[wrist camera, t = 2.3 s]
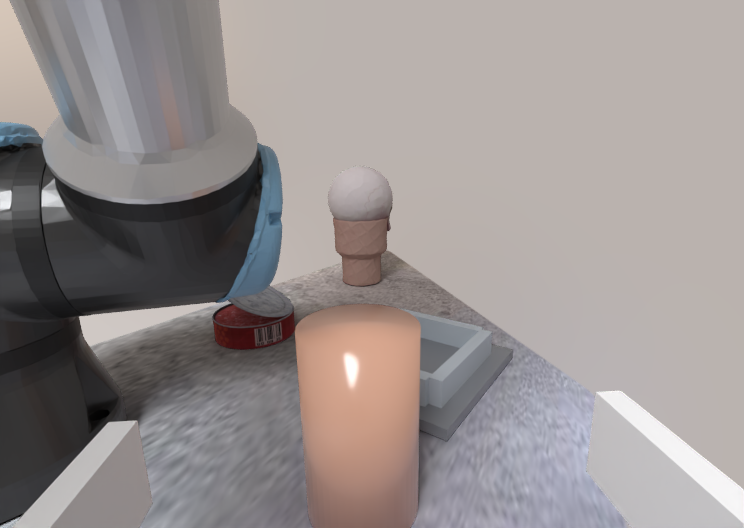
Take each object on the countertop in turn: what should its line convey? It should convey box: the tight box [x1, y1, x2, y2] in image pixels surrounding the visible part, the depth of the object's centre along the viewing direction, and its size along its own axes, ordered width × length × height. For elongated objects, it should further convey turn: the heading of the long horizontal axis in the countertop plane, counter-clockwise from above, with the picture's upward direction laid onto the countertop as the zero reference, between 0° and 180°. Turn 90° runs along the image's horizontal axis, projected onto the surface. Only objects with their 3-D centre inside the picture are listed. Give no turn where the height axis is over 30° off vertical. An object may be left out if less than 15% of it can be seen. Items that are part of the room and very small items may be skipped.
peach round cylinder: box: [295, 304, 421, 528], centre depth 24 cm, size 7×7×12 cm
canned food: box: [212, 285, 295, 350], centre depth 50 cm, size 11×10×10 cm
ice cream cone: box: [328, 166, 392, 286], centre depth 69 cm, size 11×11×20 cm
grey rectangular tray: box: [400, 308, 513, 441], centre depth 41 cm, size 16×16×4 cm
